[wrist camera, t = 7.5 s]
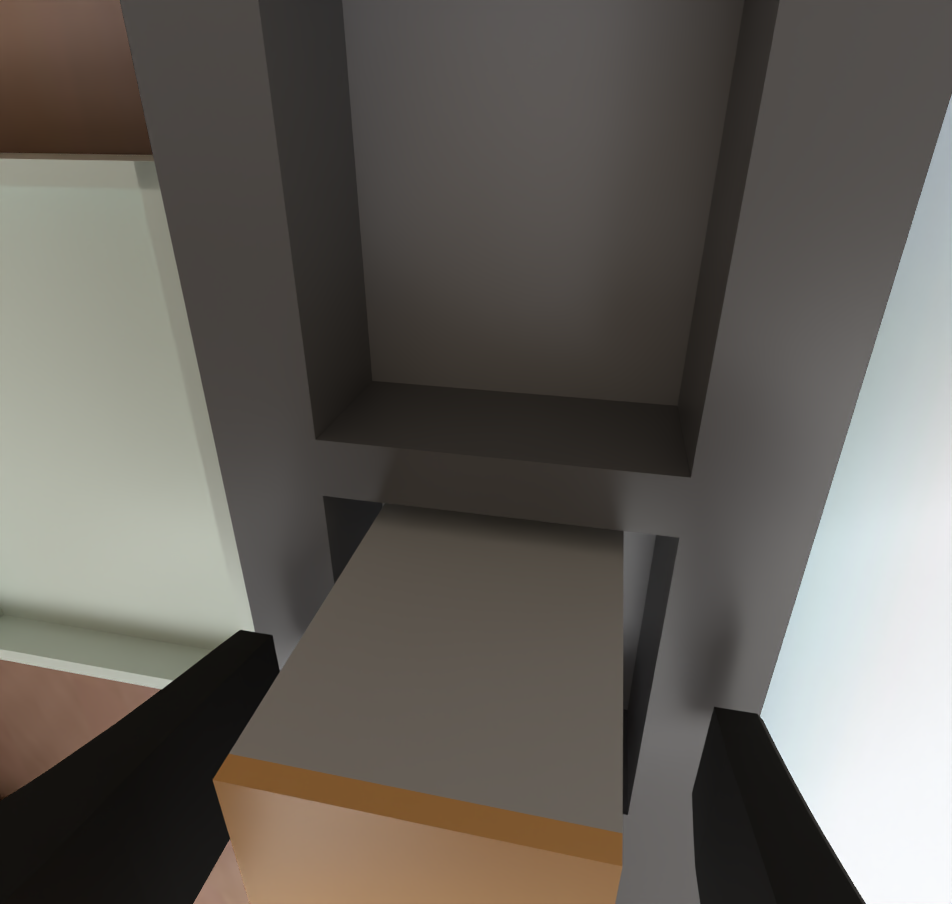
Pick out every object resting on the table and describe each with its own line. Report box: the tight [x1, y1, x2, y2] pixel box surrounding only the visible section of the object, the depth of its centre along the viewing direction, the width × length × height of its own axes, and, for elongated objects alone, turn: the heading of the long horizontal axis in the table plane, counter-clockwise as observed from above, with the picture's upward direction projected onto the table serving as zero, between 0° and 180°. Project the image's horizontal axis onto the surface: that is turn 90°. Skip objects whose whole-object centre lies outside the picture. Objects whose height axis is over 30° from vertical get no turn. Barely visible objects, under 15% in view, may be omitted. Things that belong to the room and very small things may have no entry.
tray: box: [0, 153, 255, 689], centre depth 14 cm, size 9×12×2 cm
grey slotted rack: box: [120, 0, 952, 904], centre depth 12 cm, size 9×24×3 cm, turn 0°
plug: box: [213, 503, 624, 904], centre depth 10 cm, size 4×5×7 cm
